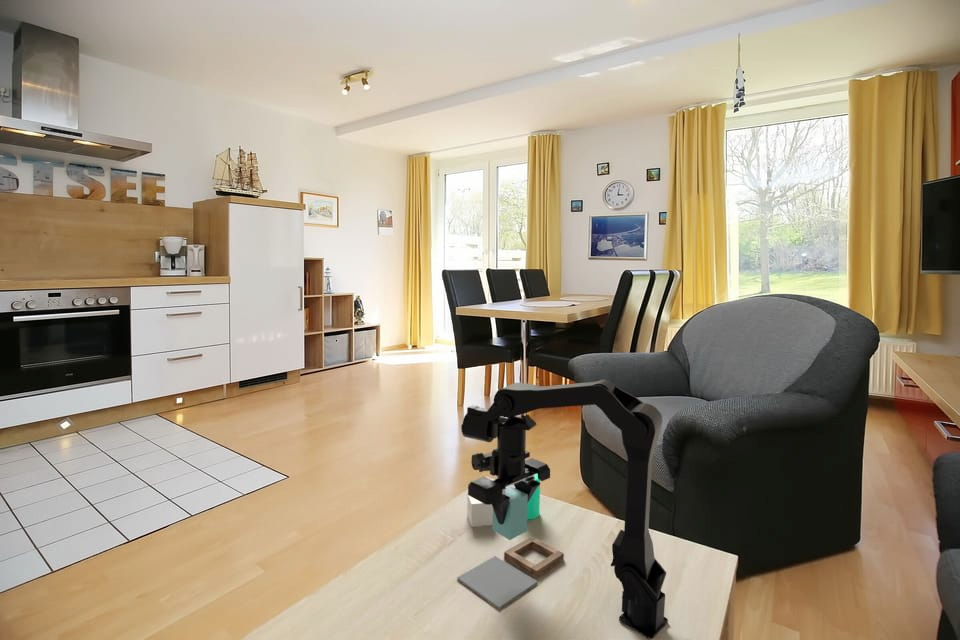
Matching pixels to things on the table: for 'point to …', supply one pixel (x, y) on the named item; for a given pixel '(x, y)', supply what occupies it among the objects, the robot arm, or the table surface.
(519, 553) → the frame
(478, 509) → the white cube
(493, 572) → the mat
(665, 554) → the table surface
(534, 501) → the candle
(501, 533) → the teal rectangular block
